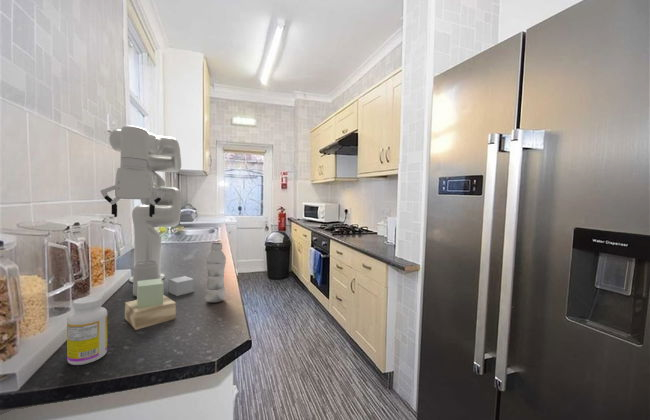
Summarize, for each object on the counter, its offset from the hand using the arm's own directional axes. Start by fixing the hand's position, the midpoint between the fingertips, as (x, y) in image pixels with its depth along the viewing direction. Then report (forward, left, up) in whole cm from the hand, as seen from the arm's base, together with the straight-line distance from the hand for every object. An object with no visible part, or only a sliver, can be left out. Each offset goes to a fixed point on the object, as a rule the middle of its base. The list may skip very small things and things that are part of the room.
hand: (133, 216), depth 92 cm
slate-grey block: (-2, +15, -28) cm, 32 cm away
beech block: (+18, +4, -29) cm, 34 cm away
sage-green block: (+18, +4, -24) cm, 30 cm away
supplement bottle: (+34, -9, -28) cm, 45 cm away
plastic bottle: (+14, +23, -28) cm, 39 cm away
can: (-5, +4, -28) cm, 29 cm away
